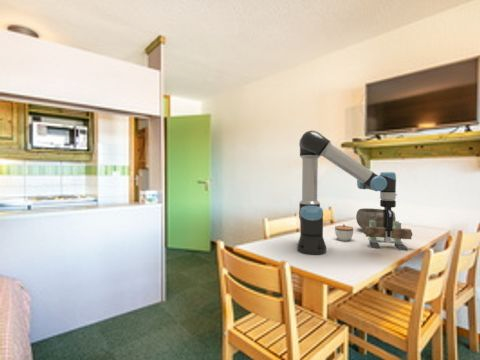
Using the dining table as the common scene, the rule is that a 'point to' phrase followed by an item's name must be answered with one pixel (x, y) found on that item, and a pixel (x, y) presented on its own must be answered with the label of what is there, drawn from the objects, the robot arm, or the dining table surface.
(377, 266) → the dining table surface
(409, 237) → the rail
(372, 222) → the rack
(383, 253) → the dining table surface
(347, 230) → the lidded jar
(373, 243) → the rests
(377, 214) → the bowl
